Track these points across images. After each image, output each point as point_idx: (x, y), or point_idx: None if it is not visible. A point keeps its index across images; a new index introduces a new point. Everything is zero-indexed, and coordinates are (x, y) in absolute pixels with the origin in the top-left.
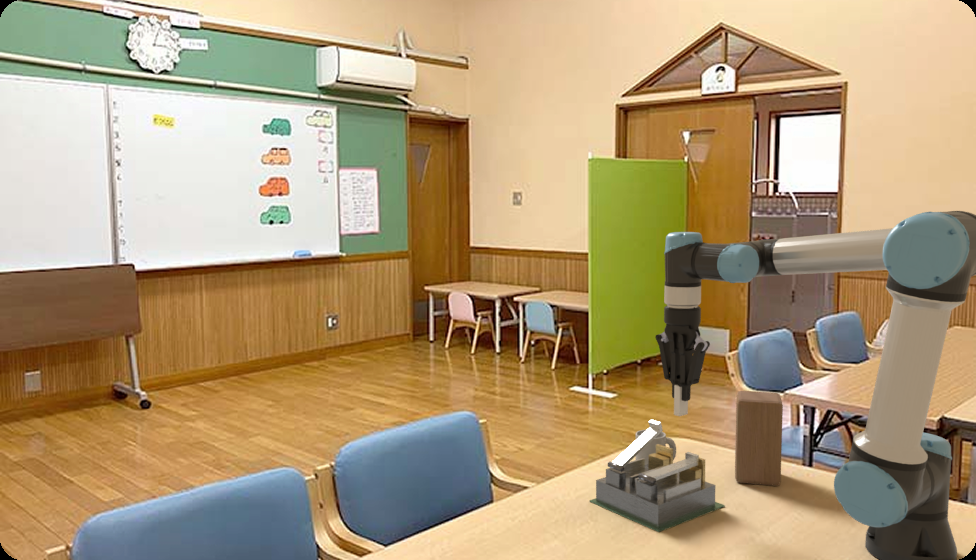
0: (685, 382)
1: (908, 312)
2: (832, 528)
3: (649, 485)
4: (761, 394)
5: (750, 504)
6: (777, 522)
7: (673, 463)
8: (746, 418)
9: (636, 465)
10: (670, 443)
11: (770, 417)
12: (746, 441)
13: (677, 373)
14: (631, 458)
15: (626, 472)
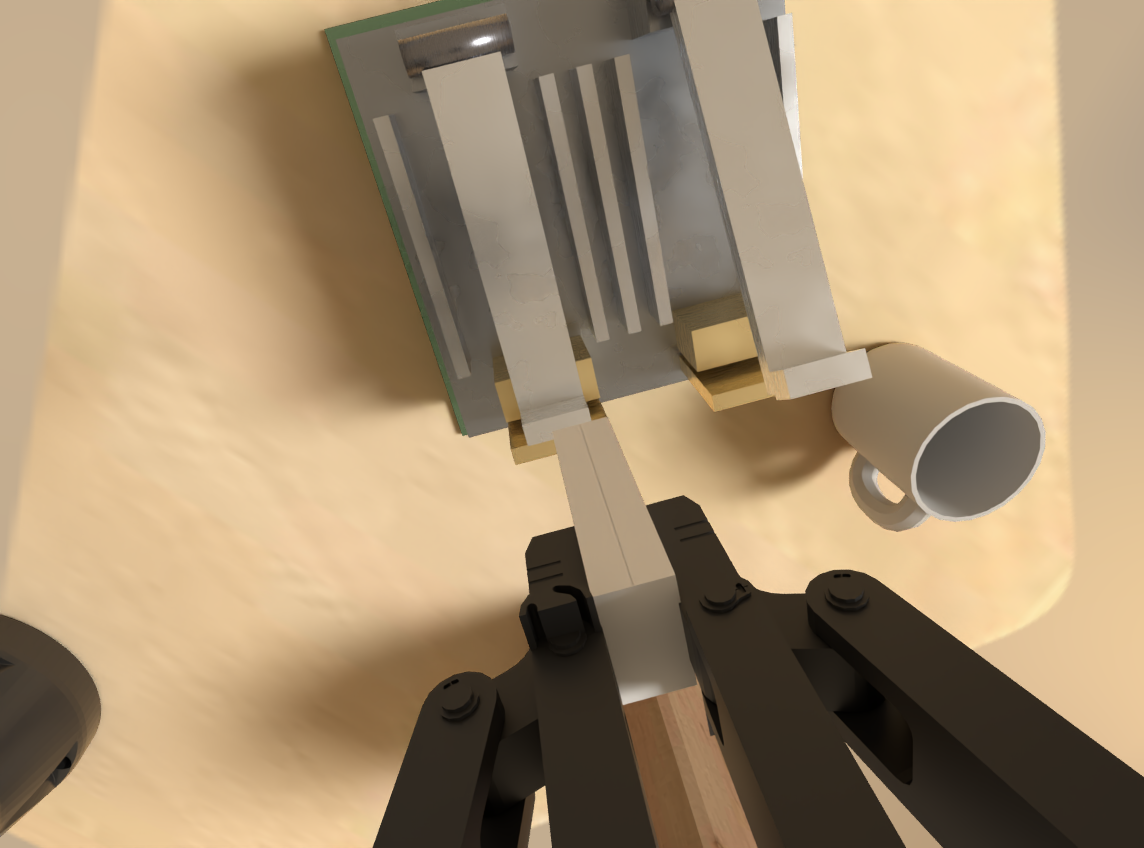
0: (536, 677)
1: None
2: (189, 622)
3: (410, 32)
4: None
5: (446, 518)
6: (280, 509)
7: (559, 306)
8: (653, 810)
9: None
10: (892, 510)
11: None
12: (627, 718)
13: (725, 726)
14: (694, 97)
15: None
